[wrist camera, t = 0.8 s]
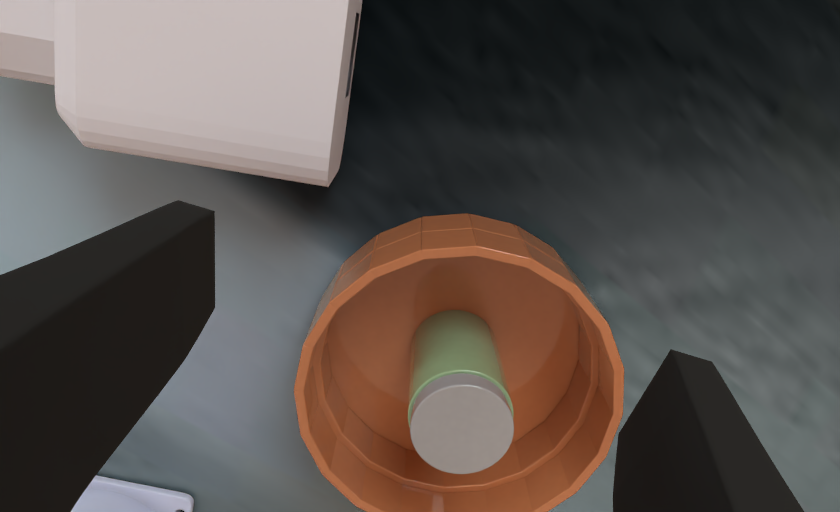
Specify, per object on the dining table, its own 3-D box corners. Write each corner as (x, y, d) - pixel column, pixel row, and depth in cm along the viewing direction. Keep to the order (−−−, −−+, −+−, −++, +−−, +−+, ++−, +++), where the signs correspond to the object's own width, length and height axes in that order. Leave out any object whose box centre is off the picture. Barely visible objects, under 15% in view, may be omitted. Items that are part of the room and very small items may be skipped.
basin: (544, 485, 33) (565, 561, 28) (293, 432, 32) (270, 502, 27) (630, 249, 29) (672, 291, 24) (346, 181, 28) (330, 211, 23)
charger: (-32, -147, 24) (373, -72, 24) (-20, 106, 27) (342, 167, 27) (-138, -191, 19) (363, -96, 20) (-110, 121, 22) (326, 192, 23)
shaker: (484, 395, 30) (499, 486, 24) (401, 377, 30) (395, 465, 24) (508, 320, 29) (530, 395, 23) (421, 300, 29) (421, 371, 23)
